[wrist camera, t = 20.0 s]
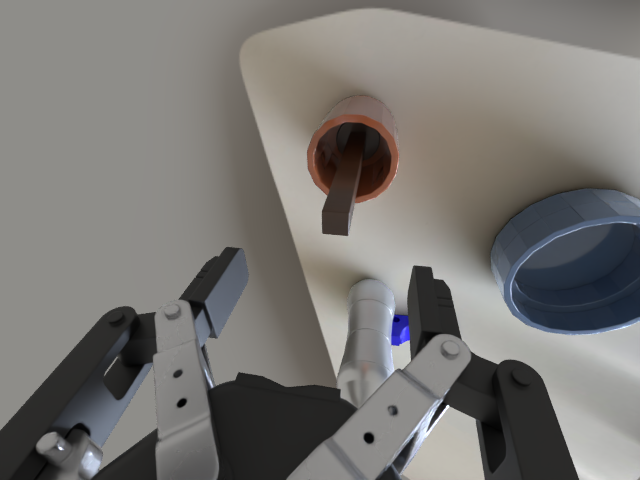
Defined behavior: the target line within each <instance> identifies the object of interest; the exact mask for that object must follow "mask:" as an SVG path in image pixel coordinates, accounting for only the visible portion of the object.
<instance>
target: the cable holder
mask: <svg viewBox="0 0 640 480" xmlns="http://www.w3.org/2000/svg"><path fill="white" fill-rule="evenodd" d="M408 340H410V336H409V320H408V316H405V315H395V314H394V318H393V321H392V332H391V345H396V346H399V344H402V343H403V342H405V341H408Z"/></svg>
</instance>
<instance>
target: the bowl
mask: <svg viewBox="0 0 640 480" xmlns="http://www.w3.org/2000/svg"><path fill="white" fill-rule="evenodd" d="M490 258H491V270H492V272H493V275H494V277H495V280H496V282H497V284H498V287H499V289H500V291H501V294H502V296H503V299H504V301H505V303H506V304H507V306H508V308H509V309H510V311H511V313H512V314H513V315H514V316H515V317H517V318H518V319H519V320H521V321H522V322H523V323H525V324H526V325H528V326H531V327H534V328H536V329H539V330H542V331H545V332H550V333H558V334H566V335H583V334H597V333H602V332H606V331H611V330H615V329H620V328H624V327H627V326H630V325H632V324H634V323H637V322H639V321H640V199H638V198H636V197H633V196H631V195H628V194H625V193H623V192H620V191H617V190H609V189H590V188H587V189H581V190H575V191H570V192H565V193H559V194H556V195H553V196H551V197H549V198H546V199H544V200H541V201H539V202H537V203H534V204H532V205H530V206H529V207H528V208H526V209H525V210H523V211H522V212H521V213H519V214H518V215H516V216H515V217H514V218H512V219H511V220H510V221H509V222H508V223H507V224H506V226H505V227H504V228H503V229H502V231H501V232H500V233H499V234H498V235H497V237H496V239H495V242H494V245H493V247H492V250H491V253H490Z"/></svg>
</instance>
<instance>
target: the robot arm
mask: <svg viewBox="0 0 640 480" xmlns="http://www.w3.org/2000/svg"><path fill="white" fill-rule="evenodd" d="M247 281H248V269H247V264H246V259H245V254H244V251H243V249H242V248H232V247H226V248H225V249H224V250H223V252H222V253H221V255H220V256H219V257H218V256H215V257H214V258H212V259H211V260H209V261H208V262H206V264H205V265H204V266H203V268H202V269H201V271H200V272H199V273H198V274H197V276H196V278H194V280H193V281H192V282H191V283H190V285H189V286H188V287H187V289H186V290H185V291H184V293H183V294H182V295H181V297H180V298H179V299H178V300H174V301H170V302H168V303H166V304H164V305H163V306H161V307H160V308H159V309H158V311H157V312H153V313H146V314H139V315H137V313H136V312H135V310H134V309H133V308H131V307H128V306H123V307H118V308H115V309H113V310H111V311H109V312H107V313H106V314H105V315H103V316H102V317H101V318H100V320H99V321H98V322H97V323H96V324H95V325H94V326H93V327H92V329H91V330H90V331H89V332H88V333H87V334H86V335H85V337H84V338H83V339H82V340H81V341H80V342H79V343H78V344H77V345H76V347H75V348H74V349H73V350H72V351H71V352H70V353H69V354H68V356H67V357H66V358H65V359H64V360H63V361H62V362H61V363H60V364H59V366H58V367H57V368H56V369H55V370H54V371H53V373H51V375H50V376H49V377H48V378H47V379H46V380H45V381H44V382H43V383H42V385H41V386H40V387H39V388H38V389H37V390H36V391H35V392H34V394H33V395H32V396H31V397H30V398H29V399H28V400H27V401H26V403H25V404H24V405H23V406H22V407H21V408H20V409H19V410H18V412H17V413H16V414H15V415H14V416H13V417H12V418H11V420H9V422H8V423H7V424H6V425H5V426H4V427H3V428H2V429H1V431H0V480H402V479H401V478H400V476H401V474H402V473H403V472H404V470H405V469H406V467H407V466H408V465H409V463H410V462H411V461H412V459H413V458H414V456H415V455H416V453H417V452H418V450H419V448H420V446H421V445H422V443H423V441H424V440H425V438H426V437H427V435H428V434H429V433H430V431H431V430H432V429H433V427H434V426H435V425H436V423H437V422H438V420H439V419H440V418H441V416H442V415H443V414H444V412H445V411H446V410H447V408H448V407H449V406H450V407H452V408H454V409H456V410H458V411H460V412H463V413H465V414H467V415H469V416H471V417H473V418H475V420H476V426H477V432H478V439H479V445H480V451H481V458H482V464H483V471H484V477H485V480H579V478H578V475H577V472H576V470H575V467H574V464H573V461H572V458H571V456H570V453H569V450H568V447H567V445H566V442H565V439H564V436H563V434H562V431H561V428H560V425H559V422H558V420H557V417H556V414H555V411H554V409H553V406H552V403H551V400H550V398H549V395H548V392H547V389H546V387H545V384H544V381H543V379H542V378H541V376H540V375H539V374H538V373H537V372H536V371H535V370H534V369H533V368H531V367H530V366H528V365H527V364H525V363H523V362H520V361H517V360H504V361H502V362H501V363H500V364H499V365H498V364H496V363H493V362H491V361H488V360H486V359H483V358H481V357H479V356H477V355H475V354H474V353H473V352H471V351H470V349H469V347H468V346H467V345H466V343H465V342H463V341H462V339H461V335H460V331H459V326H458V322H457V318H456V313H455V309H454V304H453V300H452V296H451V291H450V288H449V287H448V286H447V284H446V283H445V282H444V281H443V280H439V279H433V273H432V268H431V267H426V266H415V265H414V266H413V269H412V274H411V279H410V284H409V289H408V298H407V305H408V320H409V336H410V351H411V362H410V363H409V364H408V365H407V366H406V367H405V368H404V369H403V370H401V369H397V370H395V371H394V372H393V373H392V374H391V375H390V376H389V377H388V378H387V379H386V380H385V381H384V383H383V384H382V385H381V386H380V387H379V388H378V389H377V390H376V391H375V392H374V393H373V394H372V395H371V396H370V397H369V398H368V399H367V400H366V401H365V402H364V403H363V404H362V406H361V407H360V408H359V409H358V408H357V407H355V406H354V405H353V404H352V403H350V402H348V401H347V400H345V399H343V398H341V389H337V388H331V387H325V386H318V385H307V386H296V387H284V386H282V385H280V384H278V383H276V382H274V381H272V380H270V379H267V378H265V377H263V376H258V375H252V374H245V373H240V372H239V373H238V375H237V377H236V380H235V381H229V382H225V383H222V384H219V385H217V386H215V382H214V379H213V375H212V370H211V367H210V362H209V358H208V353H207V349H206V346H205V342H206V340H207V338H208V337H210V338H218V336H219V334H220V333H221V331H222V329H223V327H224V325H225V324H226V322H227V320H228V318H229V316H230V314H231V312H232V311H233V309H234V307H235V305H236V303H237V301H238V299H239V298H240V296H241V294H242V292H243V290H244V288H245V286H246V284H247ZM116 357H118V359H117V360H116V361H115V363H114V364H113V365H112V367H111V368H110V369H109V371H108V372H107V373H106V375H105V376H104V374H105V371H106V370H107V369H108V367H109V366H110V365H111V363H112V362H113V361H114V359H115V358H116ZM152 365H153V368H154V383H155V399H156V414H157V429H155V430H154V431H152V432H151V433H150V434H148V435H147V436H146V437H144V438H143V439H142V440H140V441H139V442H138V443H136V444H135V445H134V446H132V447H131V448H130V449H128V450H127V451H126V452H124V453H123V454H121V455H120V456H119V457H117V458H116V459H115V460H113V461H112V462H111V463H109V464H108V465H107V466H105V467H104V468H103V469H101V470H100V471H99V466H100V464H101V461H102V456H103V455H102V454H103V452H102V449H101V448H102V446H103V445H104V443H105V441H106V440H107V438H108V437H109V435H110V433H111V432H112V430H113V429H114V427H115V425H116V424H117V422H118V420H119V419H120V417H121V416H122V414H123V412H124V411H125V409H126V408H127V406H128V404H129V403H130V401H131V399H132V398H133V396H134V395H135V393H136V391H137V390H138V388H139V386H140V385H141V383H142V382H143V380H144V378H145V376H146V375H147V374H148V372H149V370H150V369H151V367H152ZM103 377H104V378H103Z"/></svg>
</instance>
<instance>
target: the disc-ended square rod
mask: <svg viewBox="0 0 640 480" xmlns="http://www.w3.org/2000/svg"><path fill="white" fill-rule="evenodd" d="M336 143H337V147H338V150H339V151H340V153H341V154H342V157H341V160H340V162H339V165H338V168H337V171H336V174H335V176H334V179H333V182H332V185H331V187H330V190H329V193H328V196H327V199H326V201H325V204H324V207H323V210H322V233H323V234H331V235H343V236H348V235H349V231H350V226H351V220H352V215H353V210H354V205H355V199H356V194H357V189H358V184H359V179H360V173H361V168H362V163H363V161H364V160H367V159H369V158H370V157H372V156H373V155H374V154H375V153H376V151H377V149H378V147H379V144H380V133H379V132H378V131H377V130H376V129H374V128H372V127H370V126H368V125H365V124H363V123H355V122H345V123H342V125H341V126H340V128H339V130H338V133H337V136H336Z"/></svg>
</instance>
